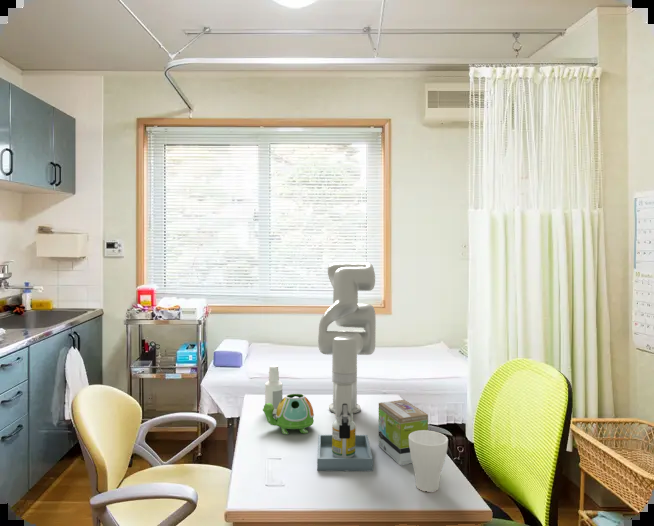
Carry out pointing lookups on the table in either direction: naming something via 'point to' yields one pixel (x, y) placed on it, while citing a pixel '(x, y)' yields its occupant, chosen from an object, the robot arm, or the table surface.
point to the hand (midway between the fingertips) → (344, 431)
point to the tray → (355, 463)
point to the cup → (427, 458)
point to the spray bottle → (273, 388)
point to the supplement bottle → (343, 440)
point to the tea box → (399, 428)
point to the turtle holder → (291, 413)
